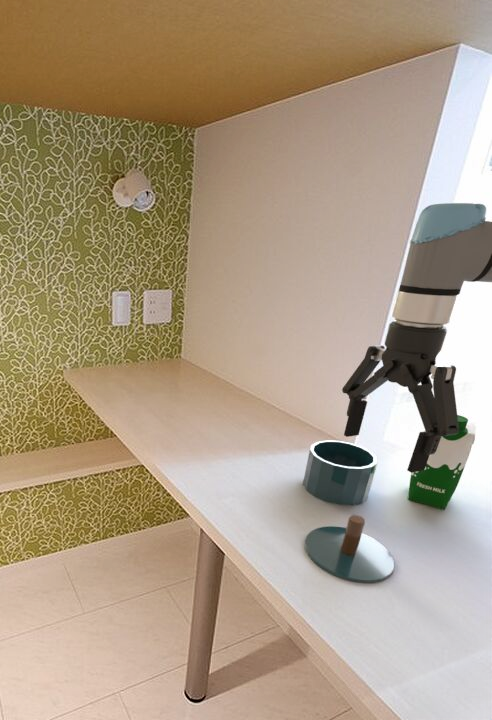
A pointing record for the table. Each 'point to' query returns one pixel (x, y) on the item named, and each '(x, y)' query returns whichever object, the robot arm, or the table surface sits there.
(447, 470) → the milk carton
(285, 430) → the table surface
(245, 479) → the table surface
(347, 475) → the jar
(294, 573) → the table surface
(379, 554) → the jar lid
